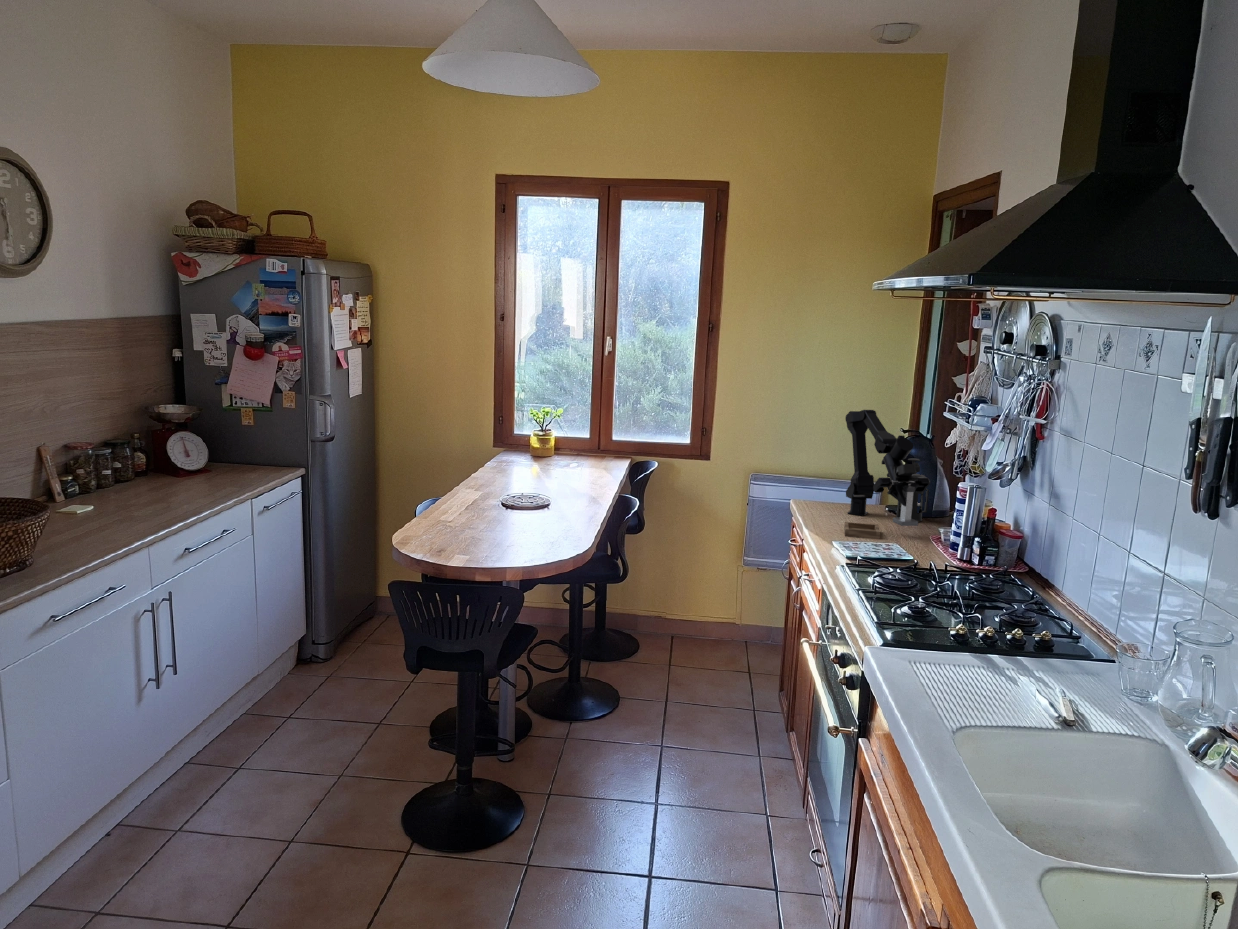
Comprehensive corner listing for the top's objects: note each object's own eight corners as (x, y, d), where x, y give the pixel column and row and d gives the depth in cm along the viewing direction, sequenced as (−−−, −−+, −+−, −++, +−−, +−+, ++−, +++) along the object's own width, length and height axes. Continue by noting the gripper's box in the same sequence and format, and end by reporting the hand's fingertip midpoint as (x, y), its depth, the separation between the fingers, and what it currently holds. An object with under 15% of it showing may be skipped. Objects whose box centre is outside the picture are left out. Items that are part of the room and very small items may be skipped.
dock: (844, 528, 306) (844, 521, 305) (877, 531, 303) (878, 524, 303) (844, 536, 295) (845, 529, 294) (879, 538, 292) (880, 531, 292)
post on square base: (901, 525, 294) (904, 488, 291) (892, 521, 299) (895, 484, 297) (917, 525, 295) (921, 488, 293) (908, 521, 301) (911, 484, 298)
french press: (899, 522, 319) (905, 460, 315) (889, 516, 328) (894, 456, 324) (930, 522, 320) (936, 461, 316) (920, 517, 329) (925, 457, 325)
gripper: (879, 454, 295) (893, 492, 286) (930, 454, 299) (944, 492, 290) (867, 472, 304) (879, 510, 295) (916, 472, 308) (929, 510, 299)
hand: (908, 505), depth 295 cm, fingers closed on post on square base, 2 cm apart
